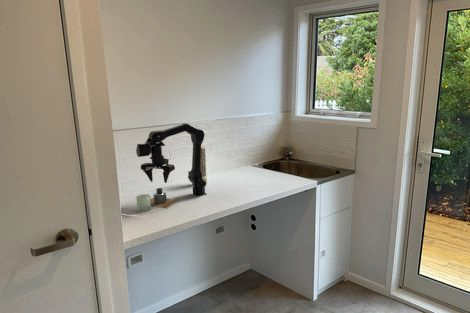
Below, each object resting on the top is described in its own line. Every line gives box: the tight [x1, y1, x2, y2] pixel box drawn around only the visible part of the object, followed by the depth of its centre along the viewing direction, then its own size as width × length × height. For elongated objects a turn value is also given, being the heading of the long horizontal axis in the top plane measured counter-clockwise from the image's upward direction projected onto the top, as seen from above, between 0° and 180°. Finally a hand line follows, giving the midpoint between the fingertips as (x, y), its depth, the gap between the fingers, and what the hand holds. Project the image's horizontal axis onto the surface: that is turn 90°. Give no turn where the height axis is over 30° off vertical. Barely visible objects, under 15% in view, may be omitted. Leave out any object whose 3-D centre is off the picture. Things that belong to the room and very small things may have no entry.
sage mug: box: [135, 193, 152, 213], centre depth 189 cm, size 7×9×8 cm
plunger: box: [155, 187, 165, 196], centre depth 199 cm, size 4×4×7 cm
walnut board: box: [150, 197, 182, 209], centre depth 200 cm, size 18×14×1 cm
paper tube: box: [200, 145, 208, 185], centre depth 234 cm, size 7×7×25 cm
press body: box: [152, 192, 168, 205], centre depth 201 cm, size 7×8×5 cm
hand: (158, 182), depth 198 cm, fingers open, 9 cm apart
